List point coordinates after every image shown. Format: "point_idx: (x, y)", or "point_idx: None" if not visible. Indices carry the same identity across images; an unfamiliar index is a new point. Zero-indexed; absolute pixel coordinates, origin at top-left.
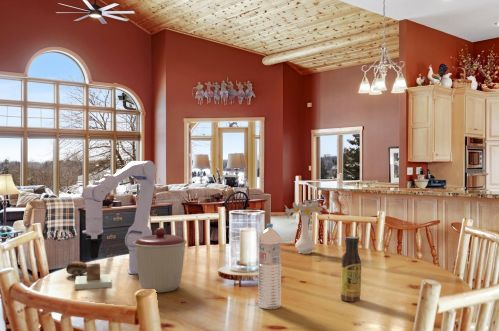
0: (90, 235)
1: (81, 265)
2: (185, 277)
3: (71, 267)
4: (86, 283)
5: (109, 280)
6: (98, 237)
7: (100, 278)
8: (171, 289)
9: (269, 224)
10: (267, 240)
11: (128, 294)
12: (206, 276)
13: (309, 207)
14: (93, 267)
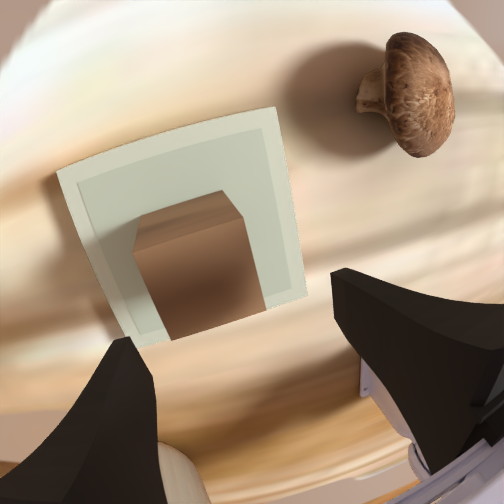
0: (495, 392)
1: (400, 123)
2: (276, 471)
3: (386, 60)
4: (80, 236)
5: (159, 335)
6: (432, 442)
7: None
8: None
9: None
10: None
11: (47, 404)
12: (279, 491)
13: None
14: (153, 295)
